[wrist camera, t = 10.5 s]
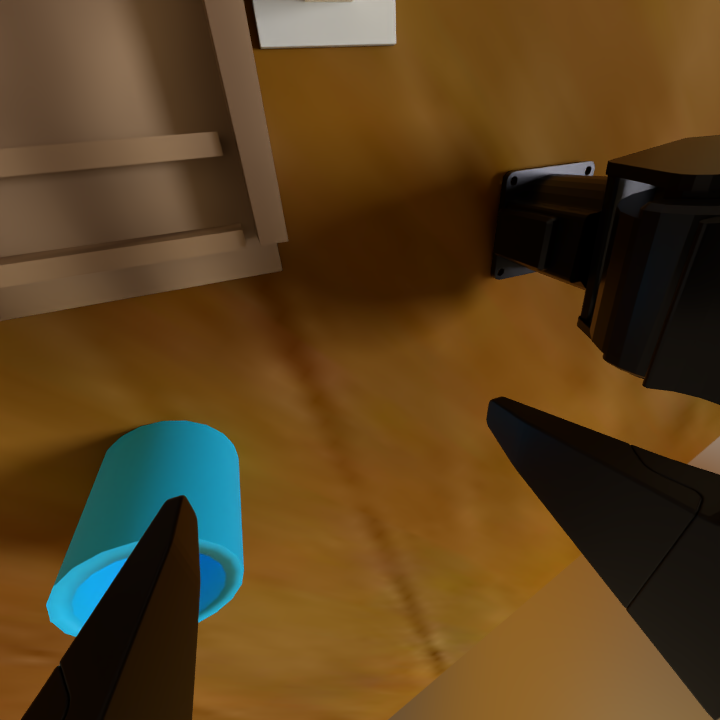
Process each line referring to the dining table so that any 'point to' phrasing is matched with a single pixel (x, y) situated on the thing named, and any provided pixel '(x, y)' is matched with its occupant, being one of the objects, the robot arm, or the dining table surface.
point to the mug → (140, 506)
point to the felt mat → (324, 23)
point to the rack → (130, 152)
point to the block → (328, 0)
